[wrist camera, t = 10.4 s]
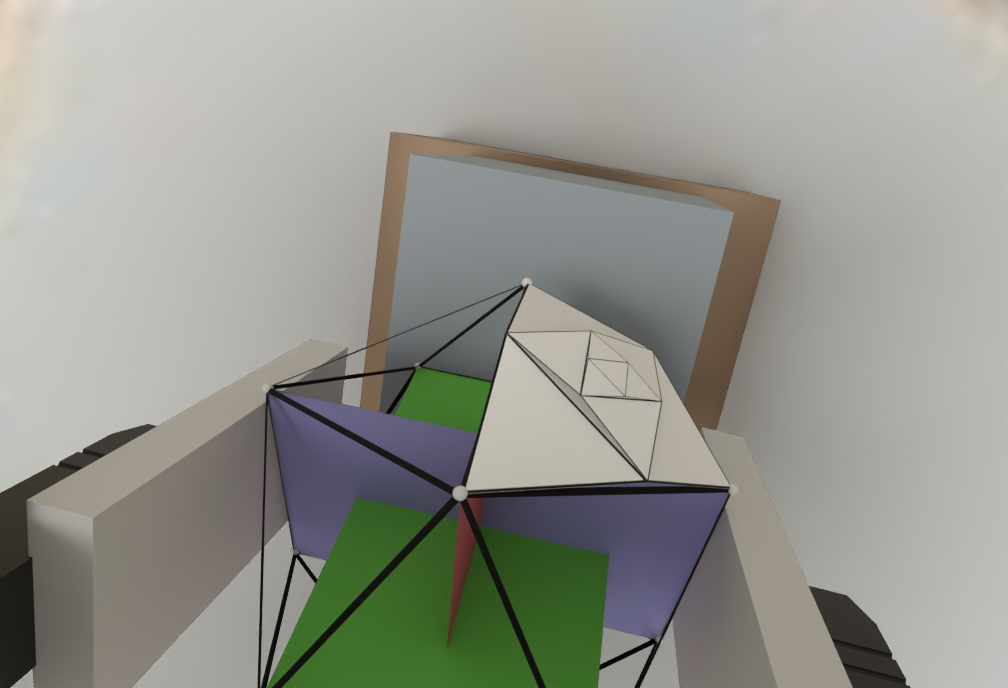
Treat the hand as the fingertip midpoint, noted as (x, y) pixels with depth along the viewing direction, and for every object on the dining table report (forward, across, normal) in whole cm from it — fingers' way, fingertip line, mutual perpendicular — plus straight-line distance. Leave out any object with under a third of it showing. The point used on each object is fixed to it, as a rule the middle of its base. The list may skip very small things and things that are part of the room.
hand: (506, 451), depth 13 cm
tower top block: (+6, 0, -1) cm, 6 cm away
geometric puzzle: (+1, 0, 0) cm, 1 cm away
